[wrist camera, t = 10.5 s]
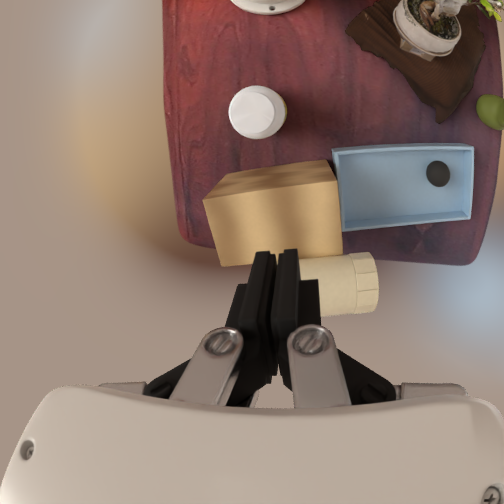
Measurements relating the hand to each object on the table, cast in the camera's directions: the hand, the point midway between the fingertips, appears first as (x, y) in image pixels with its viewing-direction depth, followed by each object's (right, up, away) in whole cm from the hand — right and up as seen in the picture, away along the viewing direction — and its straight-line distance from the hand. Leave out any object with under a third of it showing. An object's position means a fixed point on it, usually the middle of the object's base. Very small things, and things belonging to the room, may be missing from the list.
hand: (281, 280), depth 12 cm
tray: (+22, +12, +26) cm, 36 cm away
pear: (+36, +24, +17) cm, 46 cm away
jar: (+2, -3, +21) cm, 22 cm away
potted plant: (+24, +33, +14) cm, 43 cm away
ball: (+26, +13, +22) cm, 37 cm away
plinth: (+3, +10, +31) cm, 32 cm away
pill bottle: (+1, +21, +25) cm, 32 cm away
